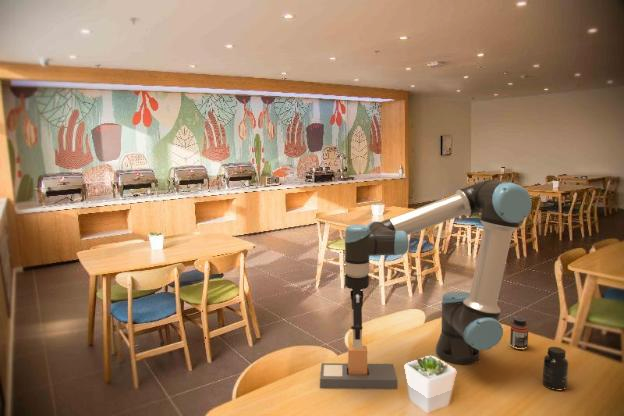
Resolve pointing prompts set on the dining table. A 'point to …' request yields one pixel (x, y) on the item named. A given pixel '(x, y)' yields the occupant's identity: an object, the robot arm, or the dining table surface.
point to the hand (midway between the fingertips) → (356, 338)
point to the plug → (357, 361)
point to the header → (358, 377)
